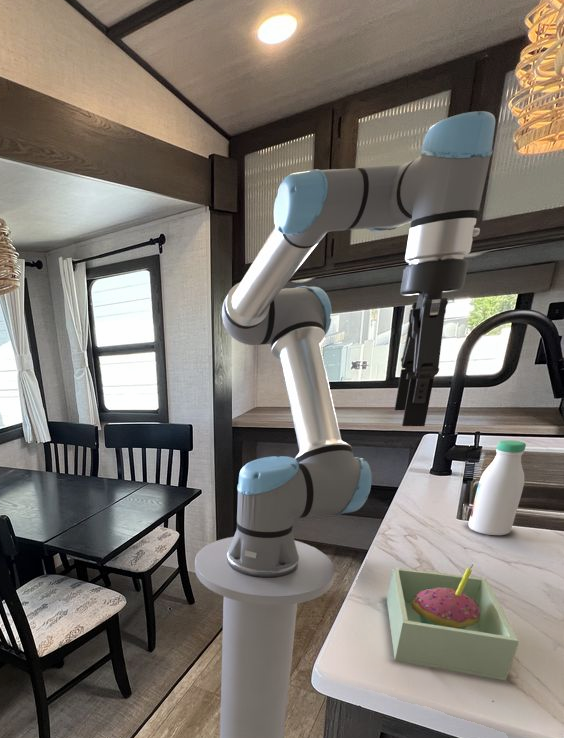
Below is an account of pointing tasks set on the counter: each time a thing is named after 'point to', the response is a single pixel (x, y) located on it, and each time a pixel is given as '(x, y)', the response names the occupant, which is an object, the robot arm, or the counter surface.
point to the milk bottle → (499, 491)
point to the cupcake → (447, 606)
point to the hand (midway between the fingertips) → (408, 417)
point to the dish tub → (445, 644)
